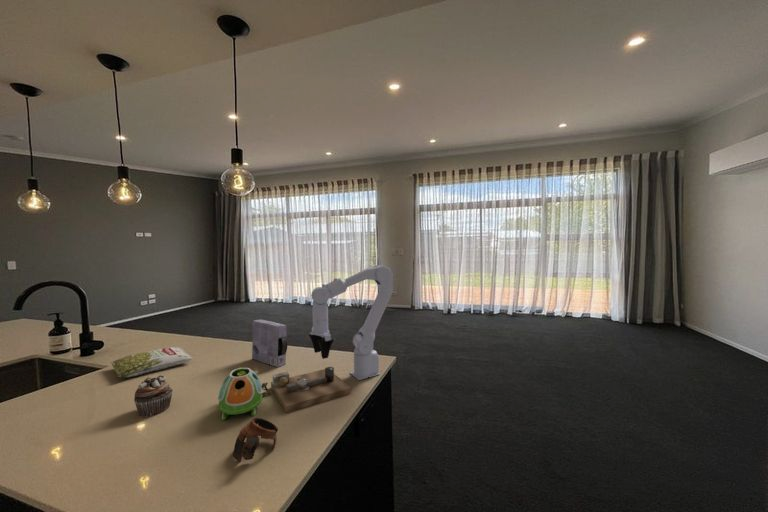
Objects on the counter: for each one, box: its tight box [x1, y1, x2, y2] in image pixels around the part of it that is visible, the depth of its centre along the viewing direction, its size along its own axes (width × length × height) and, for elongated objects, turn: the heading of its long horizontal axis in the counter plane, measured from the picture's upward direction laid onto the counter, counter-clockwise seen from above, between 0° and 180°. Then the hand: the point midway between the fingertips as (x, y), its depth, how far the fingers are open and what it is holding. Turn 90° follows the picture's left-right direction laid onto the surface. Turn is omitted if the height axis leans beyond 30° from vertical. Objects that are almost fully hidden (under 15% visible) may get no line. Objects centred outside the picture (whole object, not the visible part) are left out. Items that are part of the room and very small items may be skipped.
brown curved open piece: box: [232, 417, 279, 463], centre depth 74 cm, size 12×10×8 cm
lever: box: [287, 366, 335, 392], centre depth 105 cm, size 17×4×4 cm, turn 123°
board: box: [270, 368, 352, 414], centre depth 106 cm, size 22×20×5 cm
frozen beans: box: [110, 346, 194, 378], centre depth 129 cm, size 21×6×25 cm
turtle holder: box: [217, 366, 263, 421], centre depth 95 cm, size 12×18×12 cm
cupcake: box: [133, 375, 174, 418], centre depth 94 cm, size 10×10×10 cm
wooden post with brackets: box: [261, 381, 271, 398], centre depth 101 cm, size 2×8×4 cm, turn 125°
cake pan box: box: [251, 318, 288, 368], centre depth 133 cm, size 19×5×18 cm, turn 58°
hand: (321, 354), depth 113 cm, fingers open, 7 cm apart
